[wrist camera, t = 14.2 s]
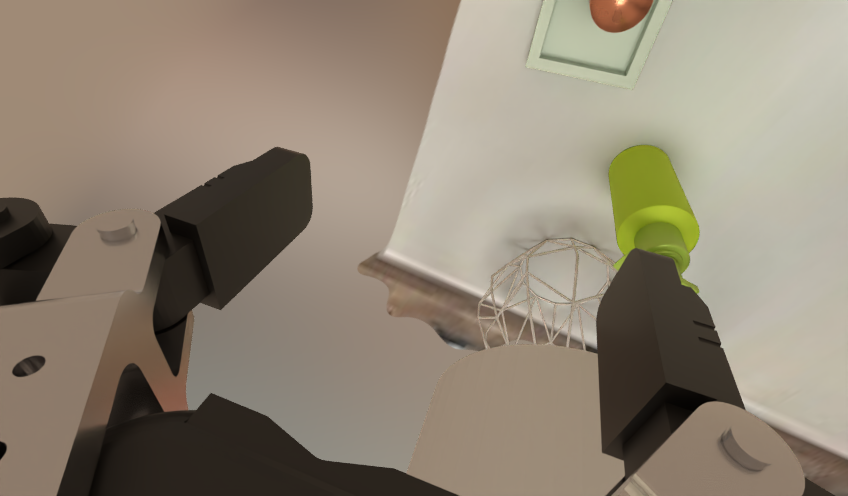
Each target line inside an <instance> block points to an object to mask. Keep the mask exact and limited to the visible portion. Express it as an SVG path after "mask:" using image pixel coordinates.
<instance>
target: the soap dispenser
mask: <svg viewBox="0 0 848 496" xmlns="http://www.w3.org/2000/svg"><path fill="white" fill-rule="evenodd" d="M609 183H610V190H611V198H612V206H613V214H614V222H615V230H616V237H617V244H618V247H619V249H620V250H621V252H622V253H623V254H624V256H623V257H622V258H621V259H620V260H619V261H617V262H616V263H615V264H614V265H613V267H614V268H615V269H616V270H619V269H620V267H621V265H622V264H623V262H624V260H625V259H626V257H627V255H628V254H629V253H630V251H631V250H633V249H634V248H638V249H642V250H645V251H649V252H653V253H656V254H660V255H663V256H667V257H670V258H672V259H673V260H674V262H675V265H676V268H677V271H678V274H679V277H680V281H681V284H682V285H685V286H688V287H691V288H692V289H693V290H694V291H695V292H696V294H697V293H699V289H698V287H697V286H695V285H694V284H692V283H690V282H688V281H687V280H685V279H683V278H682V275H681V274H682V273H683V272H684V271H685V270H686V269H687V268H688V266H689V263H690V256H689V253H690V252H691V251H692V249H693V248H694V247H695V245H696V244H697V242H698V239H699V233H700V232H699V226H698V223H697V221H696V218H695V216H694V214H693V212H692V209H691V207H690V205H689V203H688V200H687V198H686V196H685V194H684V191H683V189H682V187H681V185H680V182H679V180H678V178H677V176H676V173H675V171H674V169H673V167H672V164H671V162H670V160H669V158H668V156H667V155H666V154H665V153H664V152H663V151H662V150H661V149H659V148H657V147H654V146H649V145H639V146H634V147H631V148H628V149H626V150H624V151H623V152H621V153H620V154H619V155H618V156H617V157H616V158H615V159H614V160H613V162H612V163H611V165H610V168H609Z"/></svg>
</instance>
